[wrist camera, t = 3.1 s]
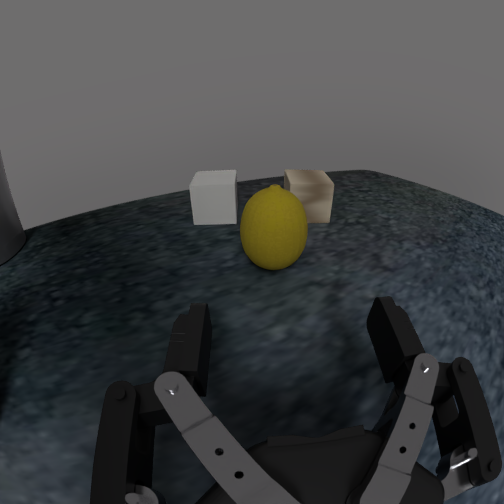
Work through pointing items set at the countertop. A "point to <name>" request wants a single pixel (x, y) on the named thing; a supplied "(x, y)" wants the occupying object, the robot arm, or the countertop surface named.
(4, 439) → the countertop surface
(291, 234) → the lemon
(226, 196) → the off-white block
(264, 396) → the countertop surface
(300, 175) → the birch block
